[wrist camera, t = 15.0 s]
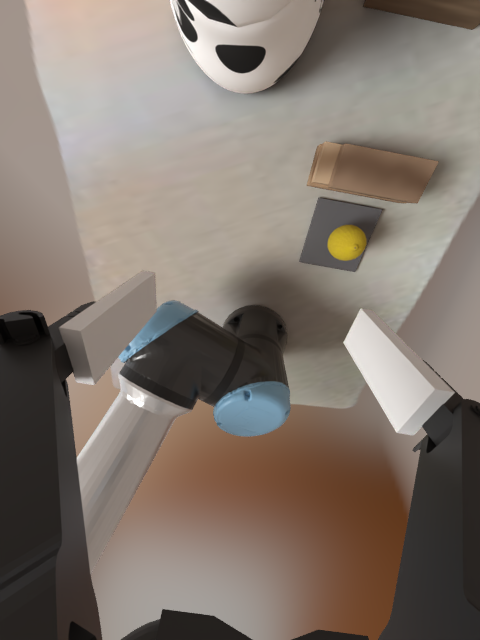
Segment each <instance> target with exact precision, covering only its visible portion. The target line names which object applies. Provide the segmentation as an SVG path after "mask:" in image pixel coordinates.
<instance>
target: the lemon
mask: <svg viewBox="0 0 480 640" xmlns="http://www.w3.org/2000/svg"><path fill="white" fill-rule="evenodd" d="M366 243H367V242H366V236H365V234H364V232H363V231H362V230H361V229H360V228H359V227H357V226H354V225H343V226H340V227H338V228H336V229H335V230H334V231H333V232H332V233H331V234H330V236H329V238H328V250H329V252H330V254H331V255H332V256H333V257H334V258H336V259H339V260H343V261H348V260H352V259H355V258H357V257H358V256H360V255H361V254H362V252H363V251H364V249H365V247H366Z"/></svg>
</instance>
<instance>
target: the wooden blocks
mask: <svg viewBox="0 0 480 640" xmlns="http://www.w3.org/2000/svg"><path fill="white" fill-rule="evenodd" d="M363 7H368V8H372V9H377V10H382V11H386V12H391V13H396V14H401V15H405V16H410V17H415V18H419V19H424V20H429V21H434V22H438V23H443V24H448V25H452V26H457V27H462V28H467V29H471V30H472V29H474V28H475V27H476V26H478V25H479V24H480V0H365V2H364V5H363ZM438 162H439V161H434V160H429V159H423V158H418V157H413V156H408V155H403V154H398V153H392V152H387V151H382V150H377V149H372V148H367V147H362V146H356V145H351V144H346V143H345V144H344V145H341V144H336V143H331V142H324V143H323V144H320V145H319V146H317V149H316V153H315V157H314V160H313V164H312V168H311V171H310V175H309V179H308V183H307V186H311V187H317V188H322V189H327V190H333V191H338V192H343V193H349V194H354V195H359V196H365V197H370V198H375V199H381V200H386V201H391V202H397V203H418V201H419V199H420V197H421V195H422V194H423V192H424V190H425V188H426V186H427V184H428V182H429V180H430V178H431V176H432V174H433V172H434V170H435V168H436V166H437V164H438Z"/></svg>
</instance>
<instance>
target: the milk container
mask: <svg viewBox="0 0 480 640" xmlns="http://www.w3.org/2000/svg"><path fill="white" fill-rule="evenodd" d="M323 3H324V0H170V4H171V8H172V12H173V15H174V18H175V21H176V24H177V27H178V29H179V32H180V34H181V36H182V38H183V41H184V43H185V45H186V47H187V48H188V50H189V52H190V54H191V55H192V57H193V58H194V60H195V61H196V63H197V64H198V65H199V67H200V68H201V69H202V70H203V71H204V73H205V74H206V75H207V76H208V77H209V78H211V79H212V80H213V81H214V82H215V83H217V84H218V85H220V86H221V87H223V88H225V89H227V90H229V91H232V92H236V93H243V94H247V93H255V92H259V91H262V90H264V89H266V88H268V87H270V86H272V85H273V84H275V83H276V82H277V81H279V80H280V79H281V78H282V77H283V76H284V75H285V74H286V73H287V72H288V71H289V70H290V69H291V68H292V66H293V65H294V64H295V62H296V61H297V60H298V58H299V57H300V55H301V54H302V52H303V50H304V48H305V47H306V45H307V43H308V41H309V39H310V37H311V35H312V33H313V31H314V28H315V26H316V23H317V21H318V18H319V15H320V12H321V9H322V6H323Z"/></svg>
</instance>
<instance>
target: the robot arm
mask: <svg viewBox="0 0 480 640" xmlns="http://www.w3.org/2000/svg"><path fill="white" fill-rule="evenodd" d="M198 312H199V311H197V310H193V309H191V308H190V307H188V306H186V305H184V304H182V303H181V302H179V301H175V300H171V301H167V302H165V303H164V304H162V305H161V306H160V307H158V308H156V284H155V273H154V272H149V271H141V272H140V273H138V274H137V275H135V276H134V277H132V278H131V279H129V280H128V281H126V282H125V283H124V284H122V285H121V286H119V287H118V288H116V289H115V290H113V291H112V292H110V293H109V294H107V295H106V296H104V297H103V298H101V299H100V300H98V301H97V302H90V303H87V304H84V305H81V306H80V307H79V308H77V309H75V310H74V311H73V312H70V313H69V314H68V315H67V316H65V317H63V318H61V319H60V320H58V321H57V322H55V323H53V324H52V325H50V326H49V327H48V326H47V324H46V321H45V318H44V316H43V314H42V313H40V312H38V311H31V310H26V311H16V312H10V313H7V314H4V315H1V316H0V640H102V634H101V626H100V620H99V612H98V607H97V602H96V597H95V593H94V589H93V586H92V581H91V574H92V572H93V570H94V568H95V566H96V564H97V562H98V561H99V559H100V557H101V555H102V553H103V552H104V550H105V548H106V546H107V544H108V542H109V540H110V538H111V537H112V535H113V533H114V531H115V529H116V528H117V525H118V524H119V522H120V520H121V518H122V517H123V514H124V513H125V511H126V509H127V507H128V505H129V504H130V502H131V500H132V498H133V496H134V494H135V493H136V490H137V489H138V487H139V485H140V483H141V482H142V480H143V477H144V476H145V474H146V472H147V470H148V469H149V467H150V465H151V463H152V461H153V459H154V457H155V456H156V454H157V452H158V450H159V448H160V447H161V445H162V443H163V441H164V439H165V437H166V435H167V433H168V432H169V430H170V428H171V426H172V424H173V423H174V420H175V419H176V418H177V417H178V416H181V415H183V414H186V413H188V412H191V411H192V409H193V407H194V405H195V403H196V401H197V400H198V399H200V400H202V401H204V402H205V403H208V404H209V405H211V406H213V407H214V411H213V415H214V419H215V421H216V422H217V425H218V426H219V428H221V429H222V430H224V431H226V432H227V433H230V434H233V435H237V436H256V435H263V434H266V433H269V432H271V431H273V430H275V429H277V428H278V427H280V426H281V425H282V424H283V423H284V422H285V421H286V420H287V418H288V416H289V413H290V398H289V397H290V390H289V386H288V381H287V376H286V371H285V366H284V360H283V352H284V349H285V346H286V343H287V332H286V327H285V324H284V322H283V320H282V319H281V317H280V316H279V315H278V314H277V313H275V312H274V311H272V310H270V309H268V308H266V307H262V306H246V307H242V308H240V309H238V310H236V311H234V312H233V313H231V314H230V315H229V316H228V318H227V319H226V321H225V322H224V325H223V328H222V327H221V326H219V325H218V324H216V323H214V322H213V321H211V320H209V319H208V318H206V317H205V316H203V315H201V314H200V313H198ZM344 345H345V346H346V348H347V350H348V351H349V353H350V355H351V356H352V358H353V360H354V362H355V363H356V365H357V367H358V368H359V370H360V372H361V373H362V375H363V377H364V378H365V380H366V382H367V384H368V385H369V387H370V388H371V390H372V392H373V394H374V395H375V397H376V399H377V400H378V402H379V404H380V405H381V407H382V408H383V411H384V412H385V414H386V416H387V417H388V419H389V420H390V422H391V424H392V426H393V427H394V429H395V431H396V432H397V433H401V434H407V435H415V433H416V432H417V431H418V430H419V429H420V428H421V427H423V428H424V430H425V431H426V433H427V435H426V436H425V437H424V438H423V440H421V441H420V442H419V443H418V444H417V445H416V446H415V447H414V448H413V451H414V452H416V451H417V450H421V451H420V457H419V462H418V468H417V474H416V479H415V484H414V490H413V496H412V501H411V507H410V513H409V518H408V524H407V530H406V535H405V541H404V546H403V552H402V557H401V563H400V569H399V574H398V580H397V585H396V591H395V597H394V602H393V608H392V613H391V617H390V620H389V622H388V624H387V626H386V627H385V629H384V630H383V632H382V633H381V635H380V637H379V639H378V640H480V403H478V402H476V401H473V400H469V399H463V398H462V397H461V396H460V395H459V394H458V393H457V392H456V391H455V390H454V389H453V388H452V387H451V386H450V385H449V384H448V383H447V382H446V381H445V380H444V379H443V378H440V375H438V373H437V372H435V371H434V369H433V368H432V367H430V365H429V364H427V362H425V361H424V360H422V359H421V358H420V357H419V356H418V355H417V354H416V353H415V352H414V351H412V349H411V348H410V347H409V346H408V345H407V344H406V343H405V342H404V341H403V340H402V339H401V338H400V337H399V336H398V335H397V334H396V333H395V332H394V331H393V330H392V329H391V328H390V327H389V326H388V325H387V324H386V323H385V322H384V321H383V320H382V319H381V318H380V317H379V316H378V315H377V314H376V313H375V312H374V311H373V310H368V309H362V308H360V310H359V312H358V314H357V316H356V318H355V320H354V322H353V324H352V326H351V328H350V330H349V332H348V334H347V337H346V339H345V341H344ZM118 357H119V359H120V360H121V362H123V363H125V362H126V364H125V365H124V367H123V368H122V370H121V371H120V373H119V374H118V378H119V382H120V386H121V391H120V393H119V395H118V396H117V398H116V399H115V401H114V402H113V404H112V405H111V407H110V408H109V410H108V412H107V413H106V415H105V416H104V418H103V419H102V421H101V422H100V424H99V425H98V427H97V428H96V430H95V431H94V433H93V434H92V436H91V437H90V439H89V441H88V442H87V443H86V445H85V446H84V448H83V450H82V451H81V453H80V454H79V455H78V457H77V458H76V450H75V442H74V433H73V425H72V417H71V408H70V401H69V392H68V384H67V381H66V378H67V377H68V376H69V375H70V374H71V373H72V372H73V373H74V377H75V380H76V382H79V383H85V384H91V385H95V384H96V383H97V381H98V380H99V379H100V378H101V377H102V376H103V374H104V373H105V372H106V371H107V370H108V368H109V367H110V366H111V365H112V364H113V363H114V361H115V360H116V359H117V358H118ZM121 640H252V639H250V638H249V637H247V636H246V635H244V634H242V633H241V632H239V631H237V630H236V629H234V628H233V627H231V626H229V625H228V624H226V623H224V622H223V621H221V620H220V619H218V618H216V617H215V616H210V615H203V614H195V613H187V612H180V611H172V610H165V609H163V610H162V614H161V619H159V620H156V621H153V622H150V623H147V624H145V625H143V626H141V627H139V628H137V629H136V630H134V631H133V632H131V633H130V634H128V635H127V636H125V637H124V638H123V639H121ZM292 640H369V639H368V636H363V635H355V634H347V633H339V632H332V631H324V630H316V631H314V632H311V633H308V634H306V635H303V636H300V637H298V638H295V639H292Z"/></svg>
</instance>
